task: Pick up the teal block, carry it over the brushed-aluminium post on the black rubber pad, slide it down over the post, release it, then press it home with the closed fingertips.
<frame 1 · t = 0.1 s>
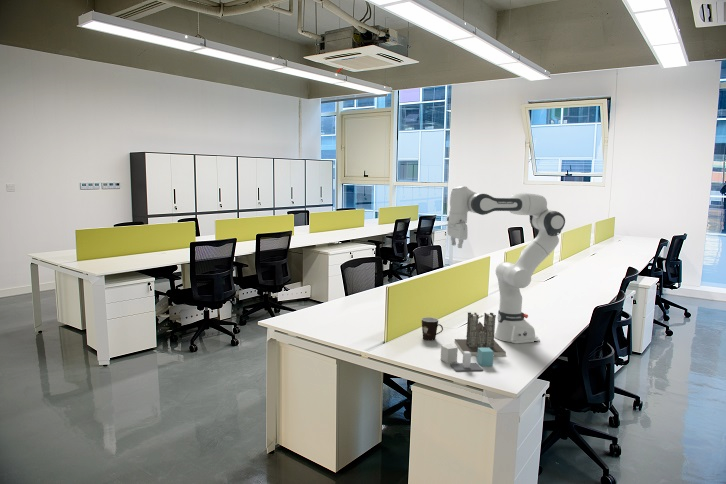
hand: (456, 246, 247), 48 cm above the table, fingers open, 8 cm apart
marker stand: (466, 367, 214), on the table
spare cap: (448, 360, 222), on the table
teal block: (484, 363, 219), on the table
coffee mug: (430, 339, 252), on the table
building model: (479, 350, 239), on the table
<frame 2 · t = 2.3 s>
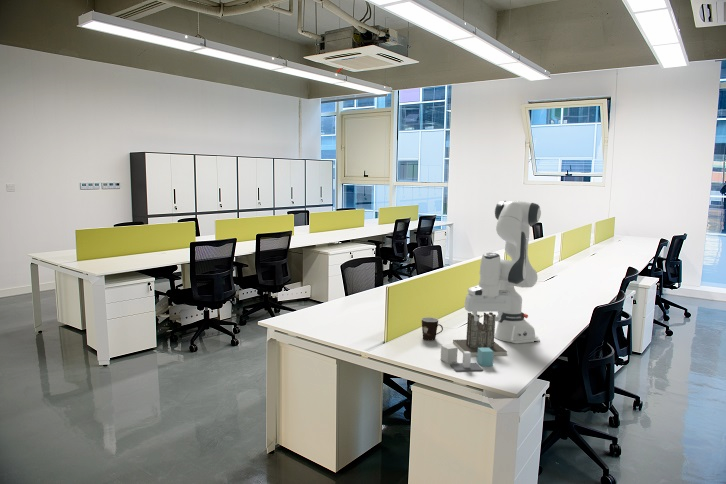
hand: (486, 321, 217), 20 cm above the table, fingers open, 8 cm apart
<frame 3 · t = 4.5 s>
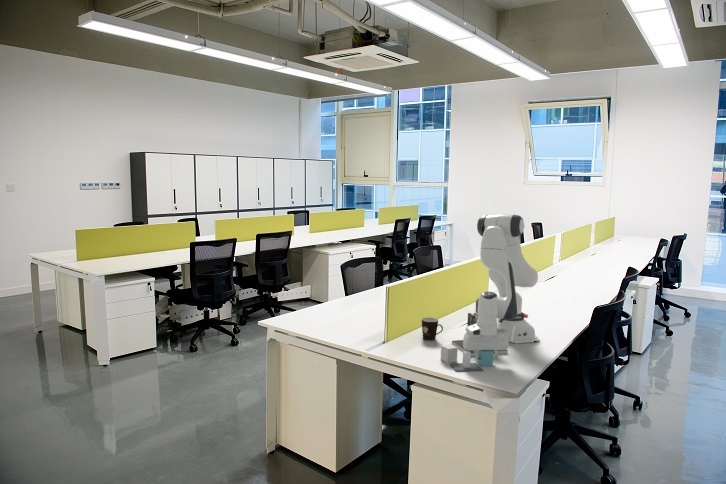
hand: (484, 359, 219), 2 cm above the table, fingers closed on teal block, 5 cm apart
teal block: (484, 363, 219), on the table, touching gripper
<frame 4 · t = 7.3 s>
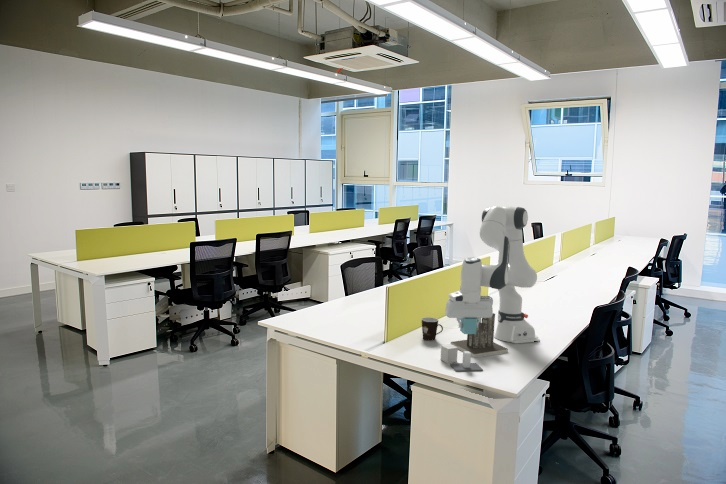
hand: (468, 327, 212), 18 cm above the table, fingers closed on teal block, 5 cm apart
teal block: (467, 332, 212), point 16 cm above the table, touching gripper
when the fingers open (5 cm above the table, at t = 9.9 s): teal block drops 1 cm, resting on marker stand.
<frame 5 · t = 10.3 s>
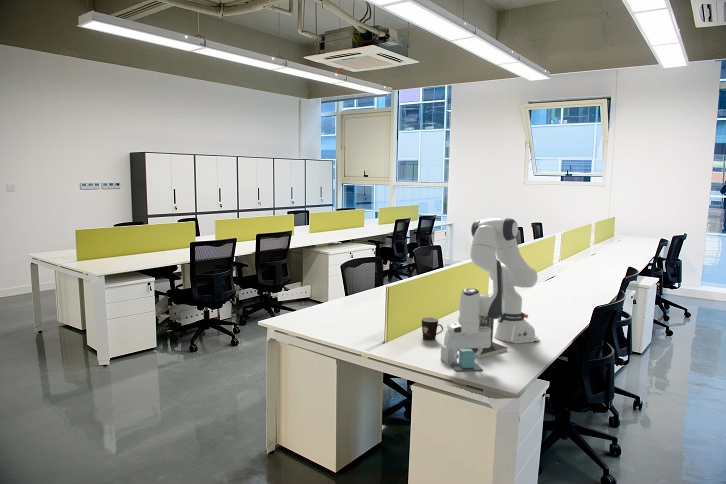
hand: (466, 357, 214), 5 cm above the table, fingers open, 8 cm apart
teal block: (466, 365, 214), point 1 cm above the table, touching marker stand
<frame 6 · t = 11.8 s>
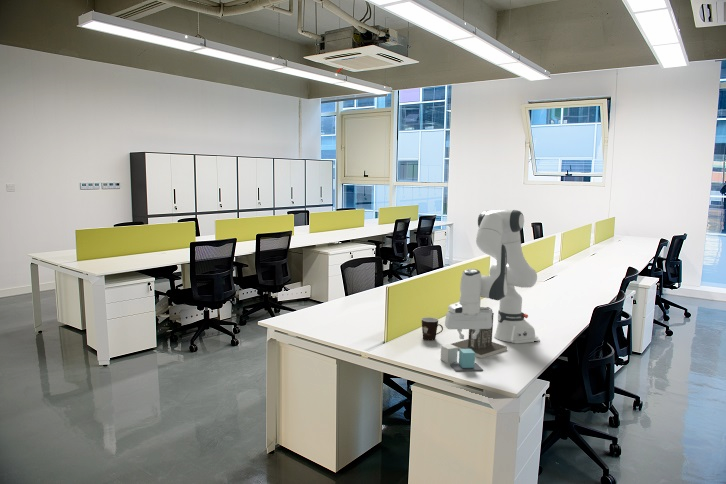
hand: (467, 338, 212), 13 cm above the table, fingers open, 4 cm apart
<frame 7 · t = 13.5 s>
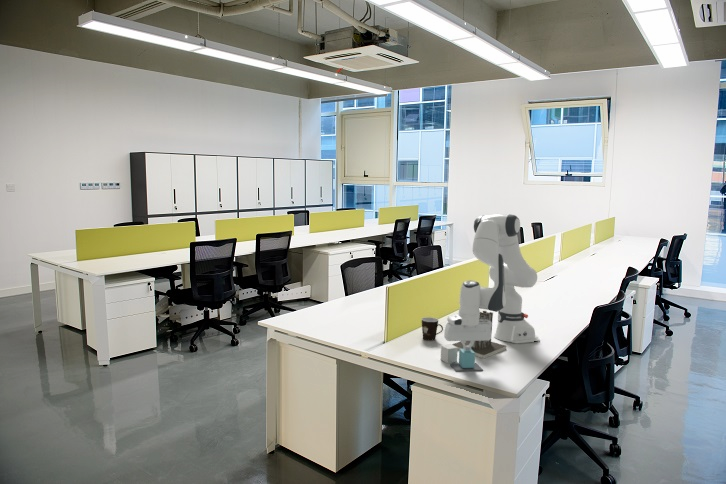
hand: (467, 350, 213), 8 cm above the table, fingers closed
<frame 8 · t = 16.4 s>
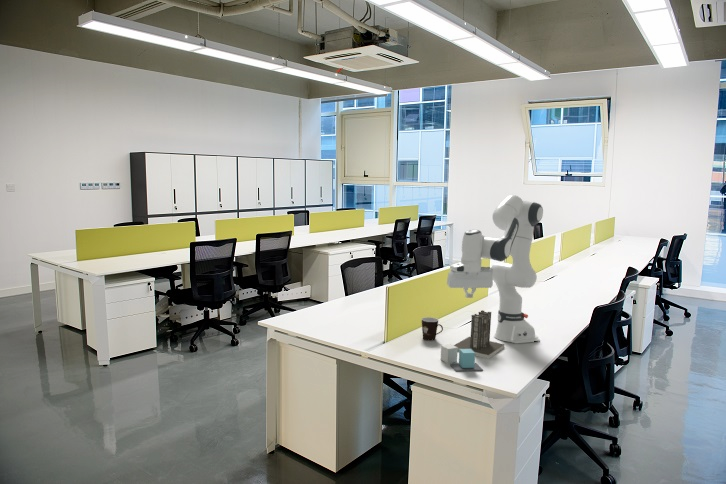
hand: (469, 297, 220), 29 cm above the table, fingers closed
at the end: teal block 0.0 cm from the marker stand (horizontally); teal block point 1.0 cm above the table; the gripper is holding nothing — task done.
